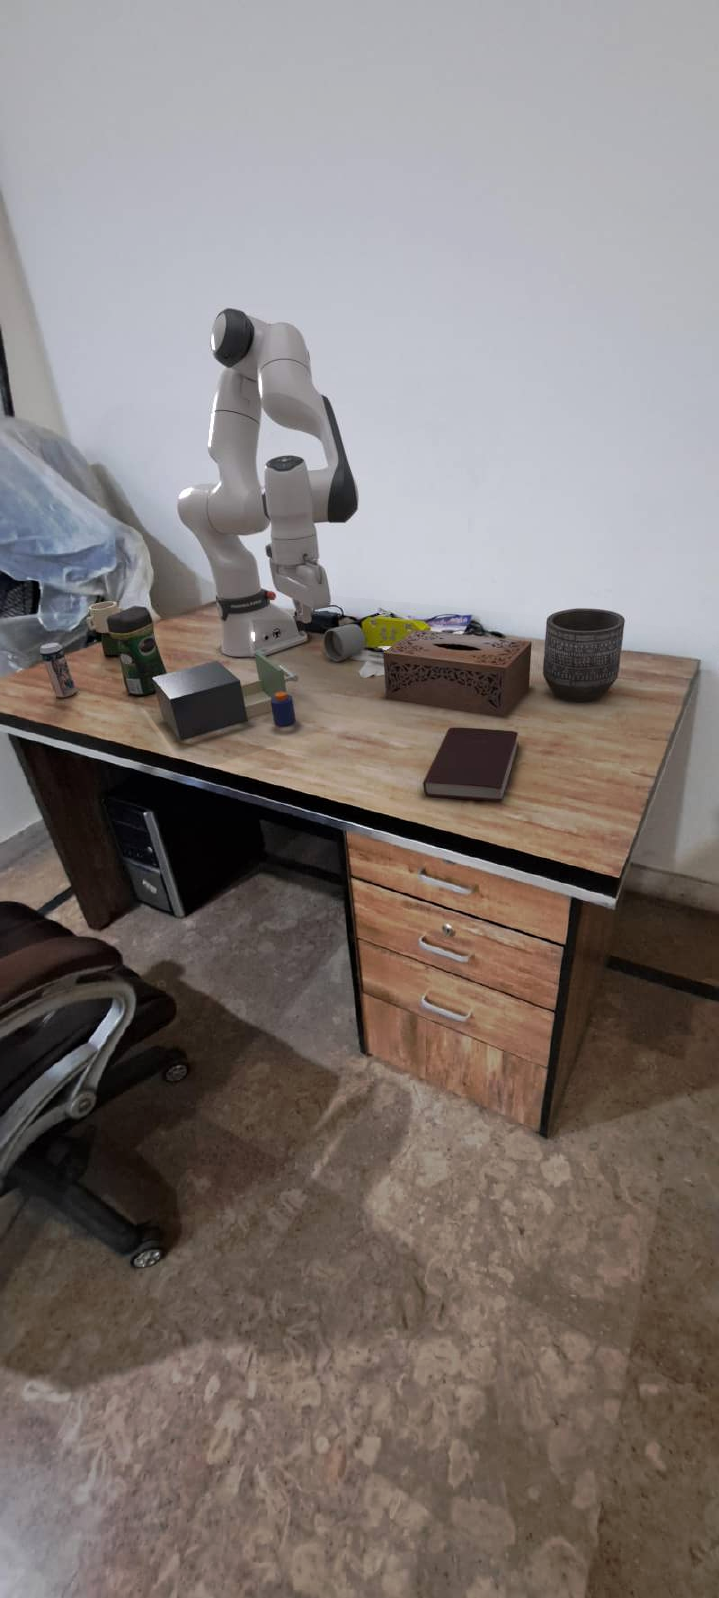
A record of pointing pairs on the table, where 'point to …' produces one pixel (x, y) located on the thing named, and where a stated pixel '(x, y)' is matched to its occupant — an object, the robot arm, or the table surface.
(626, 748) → the table surface
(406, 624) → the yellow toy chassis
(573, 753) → the table surface
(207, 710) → the drawer unit
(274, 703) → the glue bottle
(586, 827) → the table surface
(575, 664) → the planter
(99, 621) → the character mug
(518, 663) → the tissue box cover
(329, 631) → the ceramic mug
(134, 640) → the coffee jar
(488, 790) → the book
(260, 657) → the drawer
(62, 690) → the beer can
